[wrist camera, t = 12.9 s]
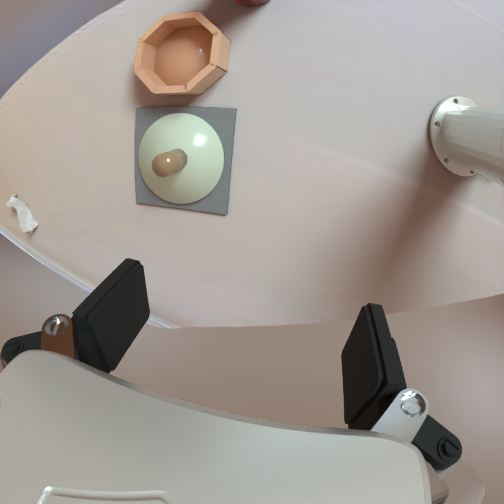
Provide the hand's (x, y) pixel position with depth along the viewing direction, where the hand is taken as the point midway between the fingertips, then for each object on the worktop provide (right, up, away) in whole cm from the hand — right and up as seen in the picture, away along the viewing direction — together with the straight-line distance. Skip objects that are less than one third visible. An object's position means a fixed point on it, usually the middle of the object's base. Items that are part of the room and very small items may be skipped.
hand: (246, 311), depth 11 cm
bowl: (-9, +31, +20) cm, 38 cm away
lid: (-10, +16, +27) cm, 34 cm away
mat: (-10, +17, +28) cm, 34 cm away
